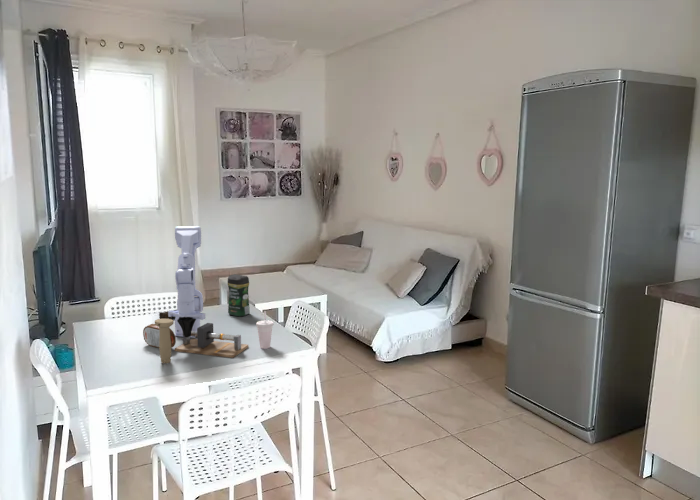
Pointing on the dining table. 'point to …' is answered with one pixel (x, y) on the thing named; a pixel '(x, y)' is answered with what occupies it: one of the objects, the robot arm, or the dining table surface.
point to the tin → (155, 336)
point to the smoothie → (264, 332)
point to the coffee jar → (238, 295)
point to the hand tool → (165, 315)
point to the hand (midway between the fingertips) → (187, 336)
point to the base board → (212, 348)
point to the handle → (164, 339)
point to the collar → (204, 335)
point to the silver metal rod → (217, 336)
